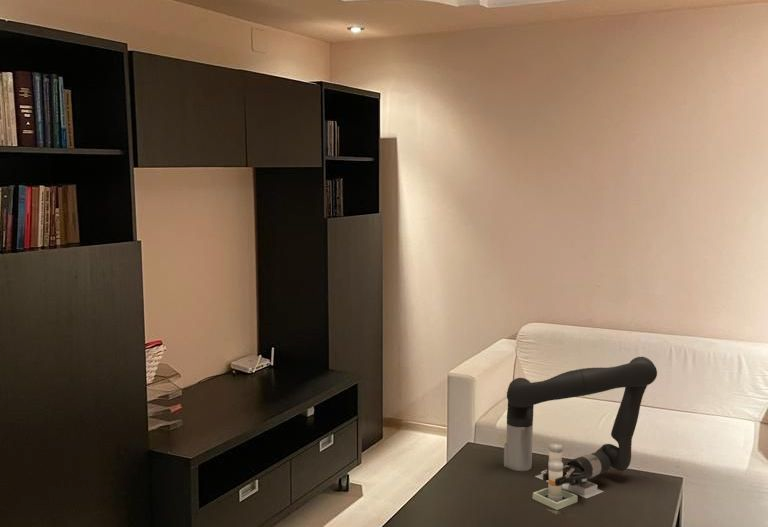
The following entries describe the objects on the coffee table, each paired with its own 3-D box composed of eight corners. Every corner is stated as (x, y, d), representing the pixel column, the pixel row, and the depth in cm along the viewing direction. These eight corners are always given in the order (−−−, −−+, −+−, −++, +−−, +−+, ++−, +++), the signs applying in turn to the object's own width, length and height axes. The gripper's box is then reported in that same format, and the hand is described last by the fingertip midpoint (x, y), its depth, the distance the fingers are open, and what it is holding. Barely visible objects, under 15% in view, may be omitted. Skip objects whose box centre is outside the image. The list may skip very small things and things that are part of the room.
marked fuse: (546, 500, 232) (546, 464, 231) (549, 494, 236) (550, 459, 235) (560, 503, 230) (561, 466, 229) (563, 497, 234) (564, 461, 233)
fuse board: (534, 480, 253) (535, 470, 252) (551, 474, 258) (552, 465, 258) (586, 502, 235) (586, 492, 235) (603, 495, 240) (603, 485, 240)
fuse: (546, 478, 250) (547, 445, 249) (550, 474, 254) (551, 441, 253) (559, 481, 248) (560, 447, 247) (563, 477, 252) (564, 443, 251)
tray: (532, 503, 235) (532, 492, 234) (553, 495, 240) (553, 485, 240) (556, 514, 227) (557, 503, 226) (577, 506, 232) (577, 495, 232)
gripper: (567, 450, 246) (533, 461, 236) (602, 463, 235) (568, 476, 225) (566, 471, 247) (532, 484, 237) (601, 485, 236) (567, 499, 226)
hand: (550, 480), depth 231 cm, fingers closed on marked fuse, 4 cm apart
